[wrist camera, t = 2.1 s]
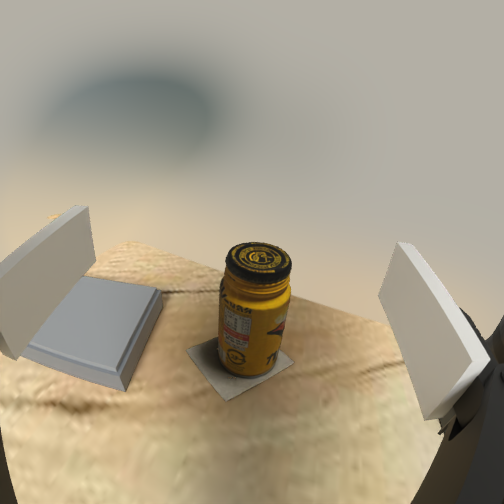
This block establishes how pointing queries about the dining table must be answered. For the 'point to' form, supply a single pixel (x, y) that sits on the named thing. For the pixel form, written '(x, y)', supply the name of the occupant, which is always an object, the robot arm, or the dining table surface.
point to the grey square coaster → (98, 331)
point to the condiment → (248, 320)
